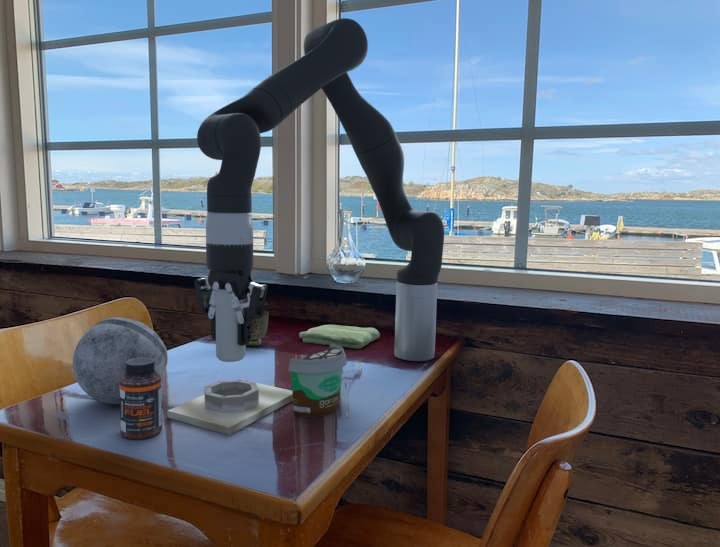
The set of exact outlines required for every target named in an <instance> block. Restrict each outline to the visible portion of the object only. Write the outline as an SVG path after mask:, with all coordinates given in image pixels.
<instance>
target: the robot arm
mask: <svg viewBox="0 0 720 547" xmlns="http://www.w3.org/2000/svg"><path fill="white" fill-rule="evenodd" d="M368 44H369V42H368V38H367V34H366V31H365V30H364V28H363V27H362V25H361V24H360V23H358V21H356V20H355V19H352V18H345V17H344V18H337V19H335V20H332V21H330V22H328V23H325V24H323V25H321V26H318V27H315V28H314V29H312V30H310V31H308V33H306V35H305V37H304V41H303V53H304V55H302V56H301V57H300V58H298V59H296V60H294V61H292V62H291V63H289V64H287V65H286V66H284V67H282V68H280V69H279V70H277V71H275V72H274V73H272V74H271V75H269V76H268V77H266V78H264V79H263V80H262V81H261V82H259V83H258V84H257V85H256V86H254V87H253V88H251V89H250V90H249V91H248V92H247V93H246V94H245V95H243V96H242V97H240V98H238V99H236V100H234V101H233V102H231V103H229V104H226V105H225V106H223V107H221V108H219V109H218V110H215V111H214V112H213V113H211V114H210V115H208V116H207V117H206V118H205V119H204V120H203V121H202V122H201V123H200V125H199V127H198V130H197V135H196V141H197V145H198V148H199V151H201V152H202V153H203V155H205V156H206V157H208V158H210V159H212V160H215V161H221V163H220V164H221V165H220V168H219V171H218V173H217V174H214V176H211V177H210V178H209V179H208V181H207V185H206V211H207V212H206V220H205V257H206V258H205V264H206V268H207V270H209V272H208V275H207V277H201V278H197V279H195V280H194V282H193V284H194V288H195V292H196V297H197V302H198V307H199V313H201V315H206V316H207V317H208V319H209V320H210V336H211V339H212V341H214V342H216V310H215V292H218V291H217V289H219V290H220V289H226V290H228V292H227V293H229V294H231V295H232V297H233V298H232V309H233V310H234V311H235V312H236V315H237V319H238V322H239V323H238V345H240V346H244V345H245V346H248V345H247V344H249V342H250V341H251V323H252V321H253V320H257V319H260V318H261V317H262V314H264V308H265V303H266V299H267V294H268V289H269V288H268V285H267V284H265V283H264V284H263V283H262V284H259V283H256V282H255V281H254V278H253V276H252V269H253V268H254V222H253V215H252V214H253V212H252V210H253V208H252V206H253V205H252V204H253V203H252V200H253V198H252V195H253V194H252V187H253V182H254V179H255V177H256V172H257V169H258V164H259V159H260V154H261V149H262V138H261V134H263V133H264V134H265V133H267V132H270V131H271V130H274V129H275V128H276V127H278V126H279V125H280V124H281V123H282V122H283V121H284V120H285V119H286V118H288V117H289V116H290V115H291V114H292V113H294V111H296V110H297V109H298V108H299V107H300V106H302V105H303V104H304V103H306V101H308V99H310V98H311V97H312V96H313V95H315V94H317V92H319V90H322V91H323V93H324V95H325V96H326V98H327V100H328V101H329V103H330V105H331V106H332V109H333V110H334V112H335V114H336V116H337V118H338V120H339V122H340V124H341V126H342V128H343V130H344V132H345V134H346V136H347V138H348V140H349V142H350V144H351V147H352V149H353V151H354V153H355V156H356V157H357V160H358V162H359V164H360V166H361V168H362V170H363V172H364V175H365V176H366V178H367V180H368V182H369V184H370V186H371V189H372V191H373V194H374V195H375V197H376V199H377V203H378V204H379V207H380V210H381V212H382V215H383V218H384V221H385V224H386V227H387V230H388V233H389V235H390V238H391V240H392V242H393V243H394V244H395V246H396V247H398V248H399V249H401V250H403V251H408V252H411V253H410V259H409V260H410V261H409V263H408V264H406V265H405V266H402V267H400V268H398V269H397V271H396V283H395V284H396V291H395V292H396V293H395V318H394V319H395V321H394V323H395V325H394V352H393V353H394V354H393V355H394V357H396V358H398V359H401V360H403V361H408V362H409V361H411V362H424V361H430V360H432V359H434V358H435V356H436V354H435V352H436V351H435V350H436V333H437V332H436V330H437V329H436V328H437V303H438V301H437V299H438V279H439V274H440V273H441V270H442V265H443V254H444V252H443V251H444V243H445V226H444V222H443V220H442V218H441V216H440V215H439V214H438V213H436V212H434V211H430V210H429V211H428V210H415V209H414V208H413V207H412V205H411V203H410V201H409V199H408V197H407V195H406V194H407V193H405V189H404V183H403V182H404V171H405V154H404V151H403V148H402V145H401V143H400V141H399V138H398V136H397V133H396V131H395V130H394V128H393V126H392V124H391V122H390V121H389V120H388V119H387V118H386V117H385V115H384V114H382V113H381V112H380V111H379V110H378V109H377V108H376V107H375V106H373V105H372V104H371V103H370V102H369V101H368V100H366V99H365V98H364V97H363V96H362V95H361V94H360V92H359V91H358V90H357V88H356V86H355V85H354V83H353V82H352V78H351V77H350V75H349V73H348V72H352V71H353V70H356V69H357V68H358V67H360V66H362V65H363V63H364V61H365V60H366V57H367V55H368V51H369V45H368ZM244 299H245V303H243V304H240V303H239V301H238V300H244ZM243 308H244V312H243ZM244 314H245V315H244Z"/></svg>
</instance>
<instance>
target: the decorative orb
mask: <svg viewBox="0 0 720 547" xmlns="http://www.w3.org/2000/svg"><path fill="white" fill-rule="evenodd" d="M140 357H145V358H152V359H153V360H154V366H155V368H154V370H155V371H156V372H158V373H159V374H160V376H161V379H162V378H163V376H164V374H165V370H166V366H167V364H168V359H169V358H168V350H167V348H166V344H165V343H164V341H163V340H162V339H161V337H159V335H158V334H157V333H156V331H155V330H153V329H152V328H151V327H150V326H148V325H146V324H145V323H142V322H141V321H138V320H135V319H132V318H126V317H120V316H119V317H118V316H117V317H116V316H115V317H108V318H104V319H103V320H100V321H98V322H97V323H95V325H94V326H92V327H90V328H89V329H88V330H87V331H86V332H85V333H84V334H83V335H82V336H81V338H80V339H79V340H78V343H77V345H76V347H75V350H74V352H73V356H72V371H73V375H74V378H75V380H76V383H77V384H78V385H79V387H80V388H81V389H82V391H83V392H85V393H86V394H87V396H89V397H90V398H93V399H94V400H96V401H98V402H101V403H104V404H108V405H120V391H119V382H120V378H121V377H122V376H123V375H124V374H126V372H127V371H126V362H127V361H128V360H130V359H134V358H140Z"/></svg>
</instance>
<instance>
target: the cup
mask: <svg viewBox="0 0 720 547" xmlns="http://www.w3.org/2000/svg"><path fill="white" fill-rule="evenodd" d="M269 316H270V313H269V311H266V310H264V311H263V314H262V317H261V318H260V319H257V320H253V321H252V323H251V341H250V342H249V344H247V345H246V346H248V347H257V346H260V345H261V343H262V339H263V338H264V337H265V336H266V334H267V331H268V325H269V318H270V317H269Z"/></svg>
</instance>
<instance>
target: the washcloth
mask: <svg viewBox="0 0 720 547" xmlns="http://www.w3.org/2000/svg"><path fill="white" fill-rule="evenodd" d="M380 336H381V335H380V332H379V331H378V329H376V328H375V327H359V326H350V325H340V324H339V325H338V324H323V325H320V326H317V327H316V326H315V327H311V328H309V329H307V331H301V332H299V335H298V337H299V338H300V339H302V343H309V344H316V345H322V346H323V345H324V346H330V343H331V344H335V345H338V346H340V347H342V348H348V349H355V350H357V349H359V350H361V349H363V348H364V347H366V346H368V345H369V343H373V342H374V341H376V340H378V339H379V338H380Z"/></svg>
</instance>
